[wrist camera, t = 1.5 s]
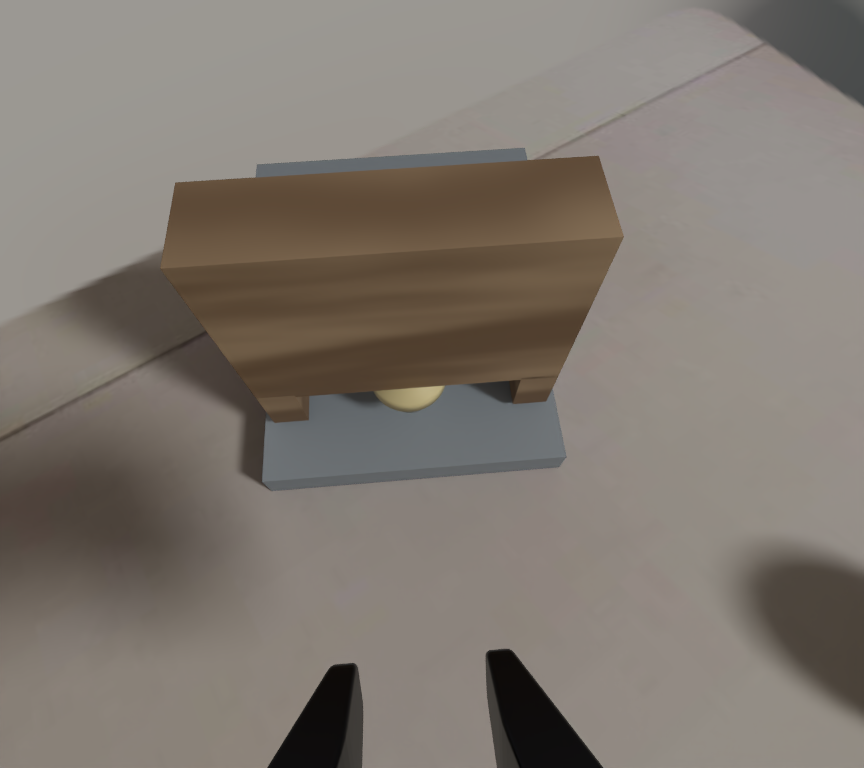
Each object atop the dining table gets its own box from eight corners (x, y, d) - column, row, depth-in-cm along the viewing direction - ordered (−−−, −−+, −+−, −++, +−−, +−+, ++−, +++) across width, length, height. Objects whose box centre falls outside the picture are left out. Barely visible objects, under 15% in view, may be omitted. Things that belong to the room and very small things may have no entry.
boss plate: (559, 467, 24) (599, 411, 18) (271, 490, 24) (218, 441, 18) (515, 244, 30) (535, 147, 24) (283, 260, 29) (245, 165, 23)
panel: (546, 401, 23) (623, 236, 14) (274, 423, 23) (160, 268, 13) (534, 343, 25) (598, 155, 15) (277, 362, 24) (175, 182, 15)
